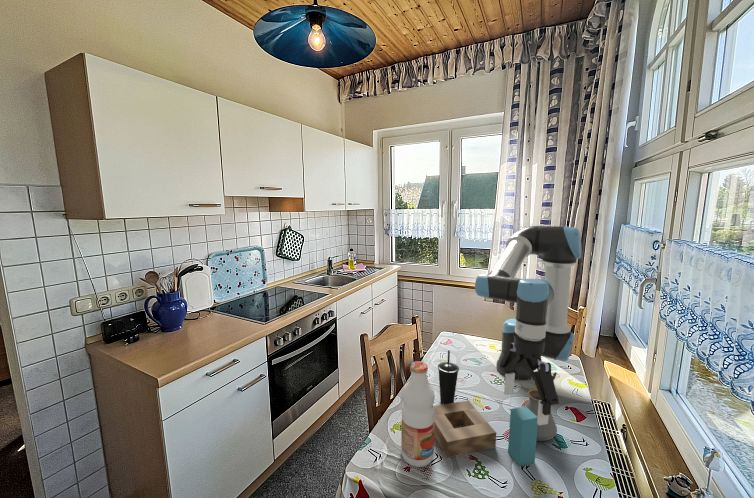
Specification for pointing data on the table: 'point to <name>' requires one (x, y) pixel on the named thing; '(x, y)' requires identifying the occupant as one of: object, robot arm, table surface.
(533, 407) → the coffee pot
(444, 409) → the socket block
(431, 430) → the fruit juice
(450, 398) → the drinking cup
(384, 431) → the table surface
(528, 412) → the peg
